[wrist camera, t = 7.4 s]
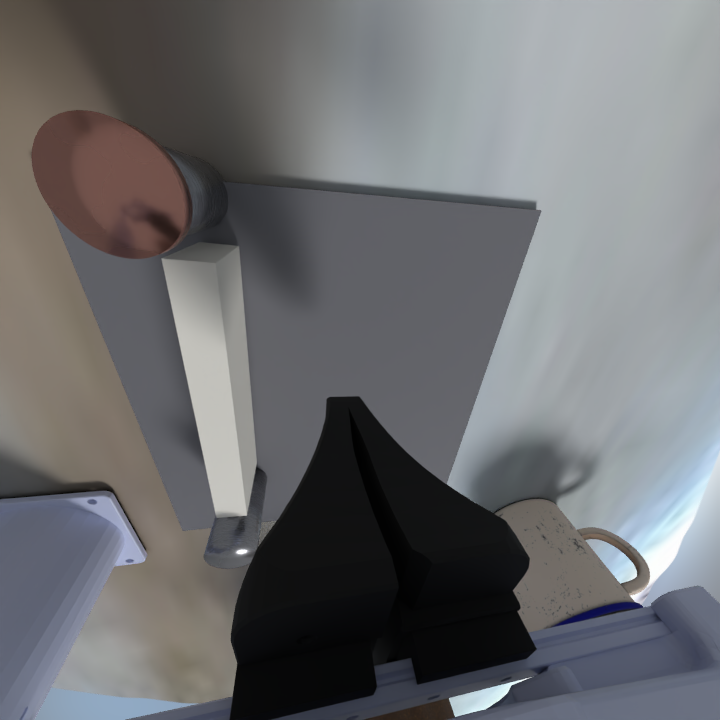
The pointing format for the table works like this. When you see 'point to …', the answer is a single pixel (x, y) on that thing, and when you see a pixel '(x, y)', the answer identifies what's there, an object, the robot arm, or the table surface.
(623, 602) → the teacup with lid
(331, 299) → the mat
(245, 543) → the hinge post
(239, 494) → the white long block
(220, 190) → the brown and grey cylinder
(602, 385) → the table surface
